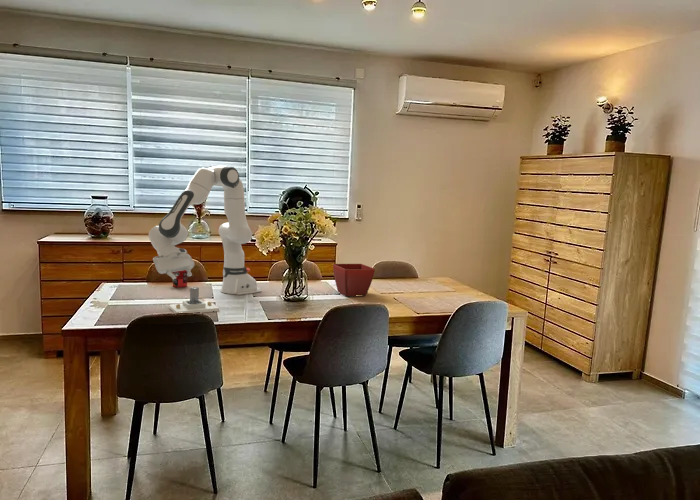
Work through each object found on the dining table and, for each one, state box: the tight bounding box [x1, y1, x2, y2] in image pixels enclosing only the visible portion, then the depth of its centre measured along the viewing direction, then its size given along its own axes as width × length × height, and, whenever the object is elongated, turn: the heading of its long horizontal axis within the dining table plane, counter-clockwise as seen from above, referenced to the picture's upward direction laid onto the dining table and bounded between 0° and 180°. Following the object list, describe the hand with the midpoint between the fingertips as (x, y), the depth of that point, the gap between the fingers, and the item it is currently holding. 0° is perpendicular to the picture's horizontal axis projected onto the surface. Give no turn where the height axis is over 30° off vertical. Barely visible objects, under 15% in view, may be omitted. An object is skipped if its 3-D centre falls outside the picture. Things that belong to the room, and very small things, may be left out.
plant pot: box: [332, 263, 376, 297], centre depth 289 cm, size 19×19×17 cm
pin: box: [189, 286, 200, 304], centre depth 237 cm, size 4×4×9 cm
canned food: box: [172, 270, 188, 289], centre depth 283 cm, size 8×8×11 cm
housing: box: [168, 299, 220, 314], centre depth 237 cm, size 20×14×4 cm
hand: (182, 277), depth 240 cm, fingers open, 8 cm apart
